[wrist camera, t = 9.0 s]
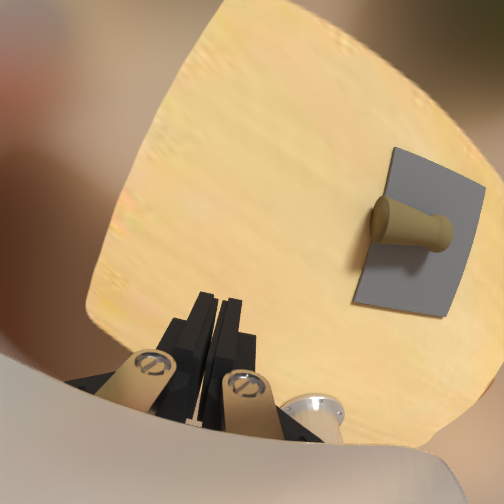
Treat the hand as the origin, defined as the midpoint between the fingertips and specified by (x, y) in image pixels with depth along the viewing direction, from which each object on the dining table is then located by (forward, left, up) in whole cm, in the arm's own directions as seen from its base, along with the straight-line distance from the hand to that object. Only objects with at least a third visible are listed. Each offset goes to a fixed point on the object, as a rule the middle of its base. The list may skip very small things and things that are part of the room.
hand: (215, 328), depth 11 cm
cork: (+4, -16, -24) cm, 29 cm away
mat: (+3, -26, -27) cm, 38 cm away
